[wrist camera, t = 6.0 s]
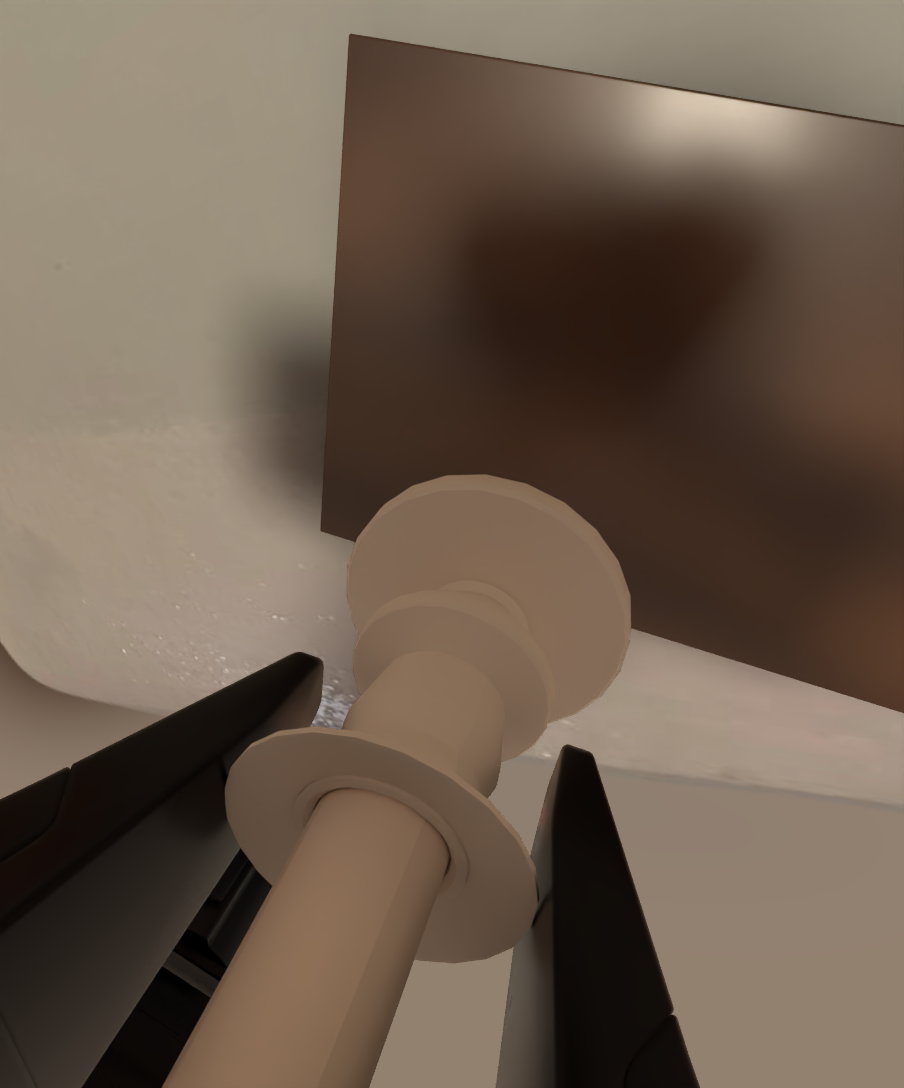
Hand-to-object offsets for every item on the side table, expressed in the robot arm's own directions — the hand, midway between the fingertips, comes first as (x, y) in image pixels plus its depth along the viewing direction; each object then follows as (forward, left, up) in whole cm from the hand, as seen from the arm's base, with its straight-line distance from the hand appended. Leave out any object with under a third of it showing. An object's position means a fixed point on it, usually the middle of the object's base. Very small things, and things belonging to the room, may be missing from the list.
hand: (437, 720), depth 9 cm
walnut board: (+2, -3, -12) cm, 12 cm away
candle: (0, 0, -3) cm, 3 cm away
